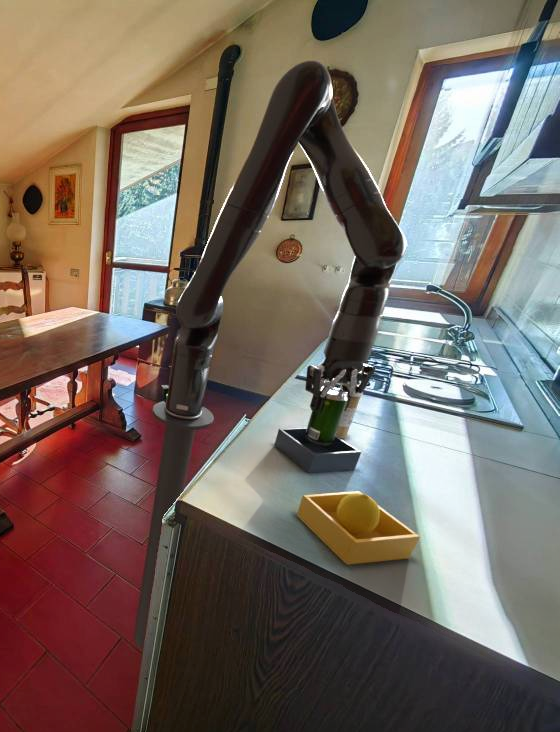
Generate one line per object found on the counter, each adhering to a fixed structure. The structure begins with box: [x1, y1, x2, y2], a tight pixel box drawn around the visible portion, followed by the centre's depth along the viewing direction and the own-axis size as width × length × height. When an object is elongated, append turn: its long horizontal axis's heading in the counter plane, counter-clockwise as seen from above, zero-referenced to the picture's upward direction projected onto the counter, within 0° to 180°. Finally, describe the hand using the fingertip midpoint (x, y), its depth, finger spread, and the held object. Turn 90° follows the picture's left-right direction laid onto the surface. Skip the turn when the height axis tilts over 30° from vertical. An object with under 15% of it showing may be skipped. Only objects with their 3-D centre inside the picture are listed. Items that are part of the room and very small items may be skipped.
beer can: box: [305, 386, 348, 445], centre depth 85 cm, size 5×5×12 cm
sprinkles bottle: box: [335, 384, 364, 439], centre depth 97 cm, size 5×5×13 cm
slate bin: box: [273, 426, 362, 474], centre depth 88 cm, size 11×11×5 cm
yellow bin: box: [296, 490, 421, 565], centre depth 66 cm, size 11×11×5 cm
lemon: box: [337, 492, 380, 534], centre depth 65 cm, size 6×6×8 cm
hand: (327, 410), depth 85 cm, fingers closed on beer can, 5 cm apart
